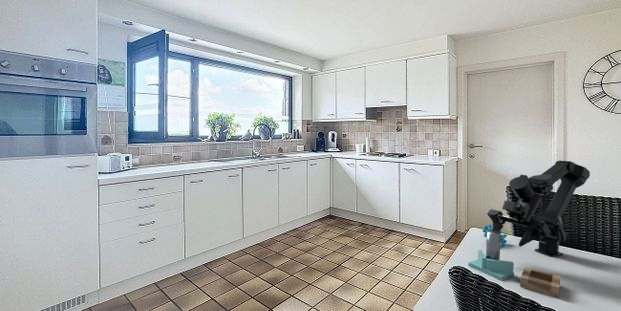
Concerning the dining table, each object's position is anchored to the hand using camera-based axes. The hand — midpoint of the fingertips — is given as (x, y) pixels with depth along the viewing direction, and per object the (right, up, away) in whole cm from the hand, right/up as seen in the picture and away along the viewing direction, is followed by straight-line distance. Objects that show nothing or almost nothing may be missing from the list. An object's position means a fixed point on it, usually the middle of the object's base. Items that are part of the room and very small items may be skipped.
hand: (505, 241), depth 103 cm
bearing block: (+2, -10, -12) cm, 16 cm away
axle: (-6, -8, -2) cm, 10 cm away
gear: (+9, -8, +21) cm, 24 cm away
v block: (-7, -9, -2) cm, 12 cm away
